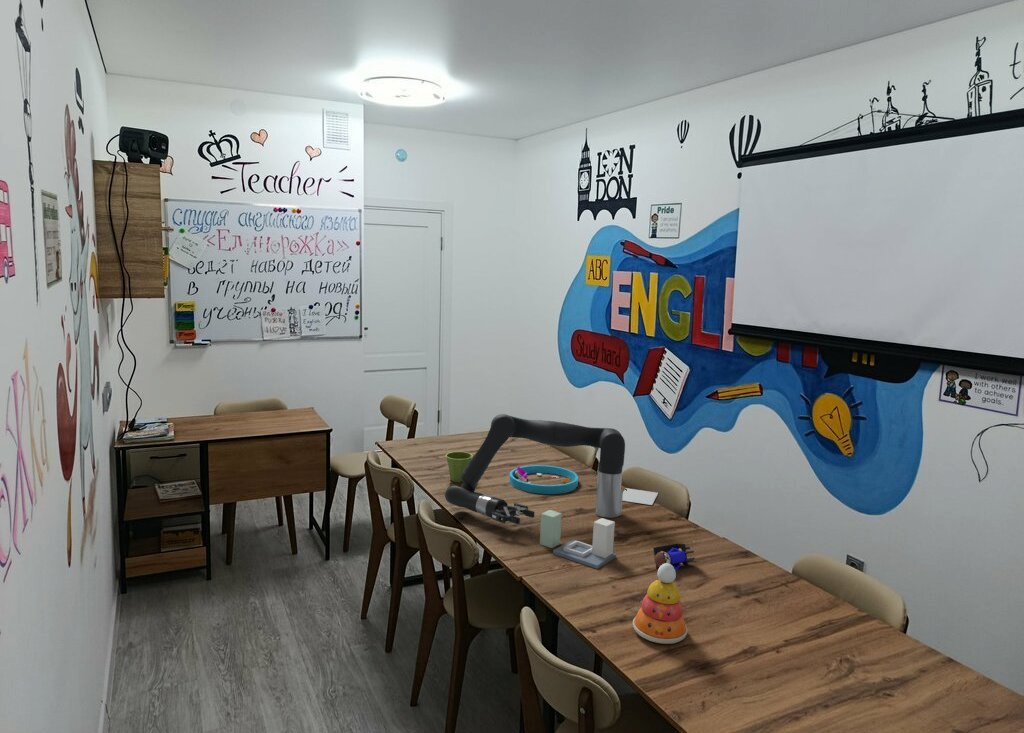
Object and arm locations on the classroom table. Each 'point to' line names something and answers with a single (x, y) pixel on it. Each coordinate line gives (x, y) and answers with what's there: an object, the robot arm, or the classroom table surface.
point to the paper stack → (639, 496)
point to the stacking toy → (661, 610)
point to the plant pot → (457, 464)
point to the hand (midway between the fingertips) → (526, 518)
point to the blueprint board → (582, 554)
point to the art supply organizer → (542, 489)
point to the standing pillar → (603, 538)
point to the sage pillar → (550, 528)
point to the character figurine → (672, 555)
